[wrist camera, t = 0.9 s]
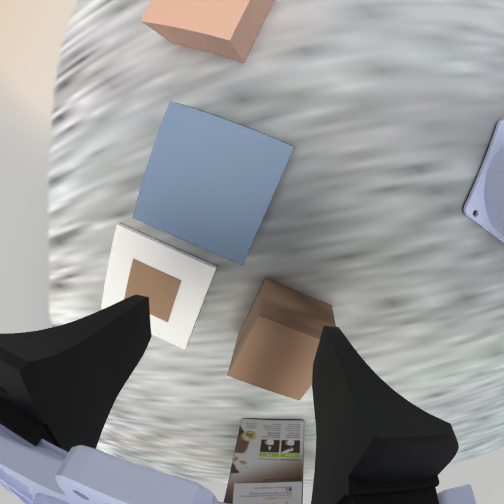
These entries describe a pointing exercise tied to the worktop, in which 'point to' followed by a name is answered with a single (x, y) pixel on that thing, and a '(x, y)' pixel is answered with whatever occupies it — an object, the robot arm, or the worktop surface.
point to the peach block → (209, 24)
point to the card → (158, 282)
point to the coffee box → (267, 463)
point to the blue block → (210, 180)
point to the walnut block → (280, 340)
